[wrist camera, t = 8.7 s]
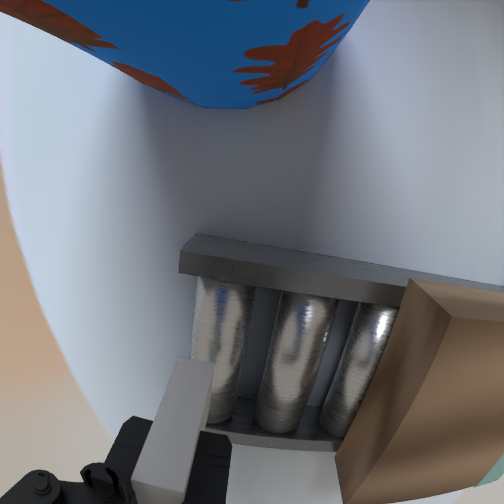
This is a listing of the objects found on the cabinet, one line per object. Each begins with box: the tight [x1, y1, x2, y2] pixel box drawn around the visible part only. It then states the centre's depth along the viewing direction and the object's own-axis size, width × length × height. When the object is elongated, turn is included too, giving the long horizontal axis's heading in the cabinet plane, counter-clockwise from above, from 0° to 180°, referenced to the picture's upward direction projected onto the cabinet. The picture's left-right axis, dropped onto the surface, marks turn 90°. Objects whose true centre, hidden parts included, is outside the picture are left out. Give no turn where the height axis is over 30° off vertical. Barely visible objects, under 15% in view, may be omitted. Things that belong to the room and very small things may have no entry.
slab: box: [335, 277, 504, 504], centre depth 13 cm, size 12×10×4 cm
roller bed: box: [179, 234, 504, 452], centre depth 16 cm, size 11×20×3 cm, turn 81°
